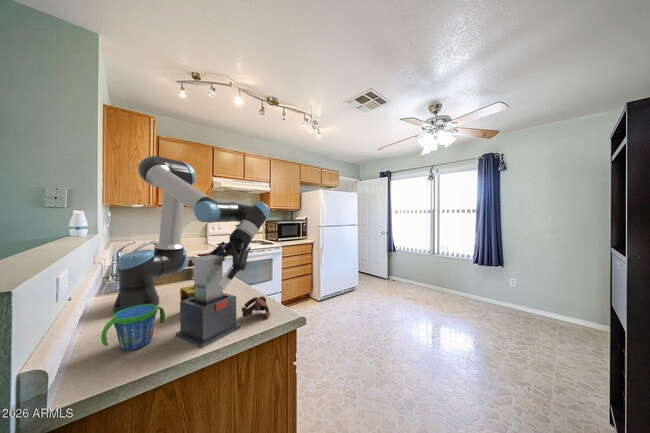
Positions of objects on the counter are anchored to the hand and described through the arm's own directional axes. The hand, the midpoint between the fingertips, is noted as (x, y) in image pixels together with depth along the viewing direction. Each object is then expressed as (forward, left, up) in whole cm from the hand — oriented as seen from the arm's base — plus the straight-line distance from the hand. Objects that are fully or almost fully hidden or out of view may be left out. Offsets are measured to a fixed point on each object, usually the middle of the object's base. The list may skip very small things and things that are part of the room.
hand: (207, 284), depth 76 cm
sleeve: (-1, 0, -16) cm, 16 cm away
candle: (-20, -6, -16) cm, 26 cm away
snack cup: (0, -19, -16) cm, 25 cm away
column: (-1, 0, -15) cm, 15 cm away
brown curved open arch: (-8, +16, -16) cm, 24 cm away
